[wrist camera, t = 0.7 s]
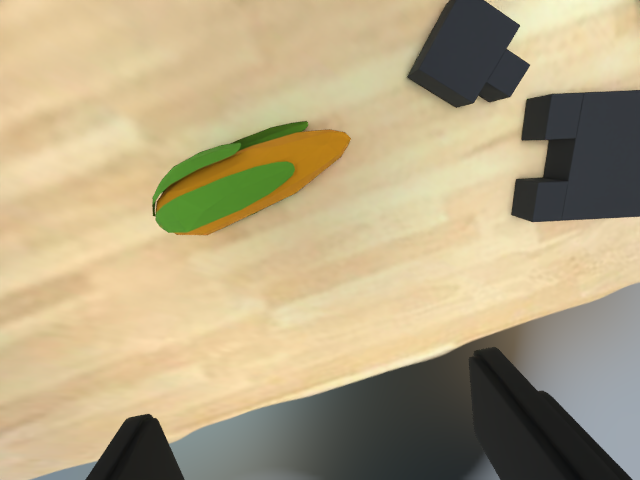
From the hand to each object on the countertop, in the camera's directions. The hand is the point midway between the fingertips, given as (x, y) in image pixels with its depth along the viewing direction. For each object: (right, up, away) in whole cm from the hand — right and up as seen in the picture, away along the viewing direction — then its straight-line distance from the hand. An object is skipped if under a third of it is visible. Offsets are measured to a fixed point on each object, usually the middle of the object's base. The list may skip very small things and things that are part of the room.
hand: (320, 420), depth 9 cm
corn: (-7, +13, +24) cm, 28 cm away
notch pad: (+27, +14, +25) cm, 39 cm away
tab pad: (+14, +22, +22) cm, 34 cm away
